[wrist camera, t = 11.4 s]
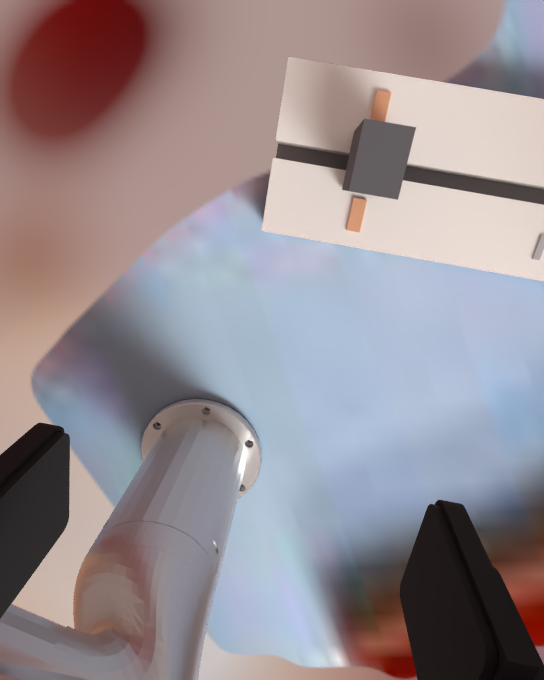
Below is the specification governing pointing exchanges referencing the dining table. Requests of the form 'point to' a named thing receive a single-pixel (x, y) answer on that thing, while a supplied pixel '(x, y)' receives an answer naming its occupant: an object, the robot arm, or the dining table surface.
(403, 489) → the dining table surface
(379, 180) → the fader tab
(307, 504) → the dining table surface
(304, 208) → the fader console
